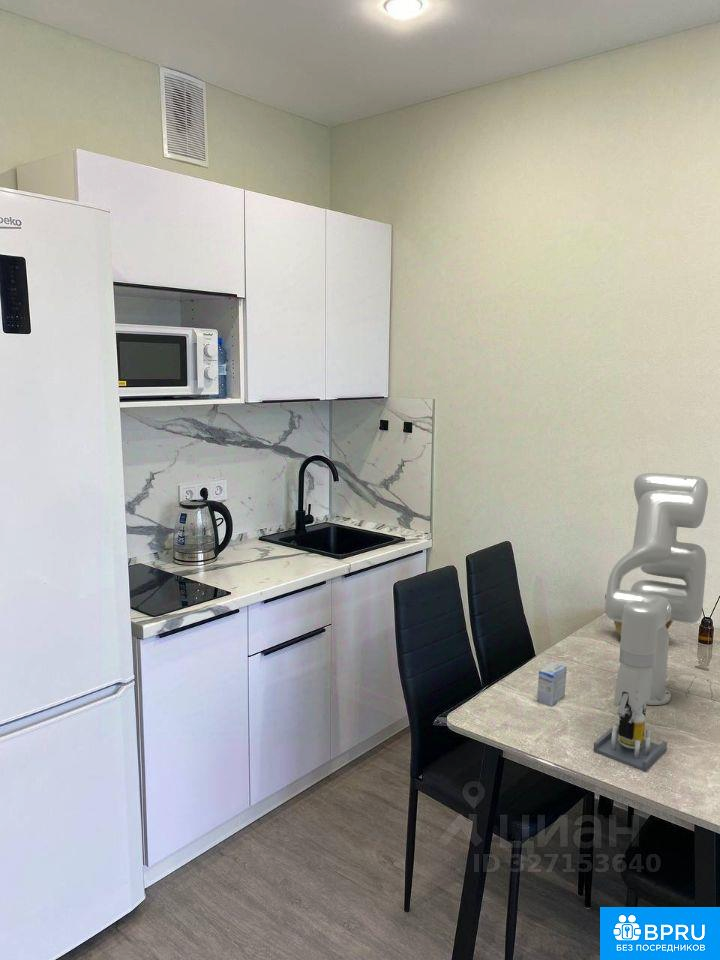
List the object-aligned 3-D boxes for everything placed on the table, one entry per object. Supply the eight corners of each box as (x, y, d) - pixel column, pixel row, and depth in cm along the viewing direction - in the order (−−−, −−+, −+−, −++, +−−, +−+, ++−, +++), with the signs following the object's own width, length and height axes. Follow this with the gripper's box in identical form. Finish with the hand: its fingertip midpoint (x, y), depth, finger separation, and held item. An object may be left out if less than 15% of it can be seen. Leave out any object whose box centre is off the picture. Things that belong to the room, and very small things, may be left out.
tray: (615, 732, 173) (617, 713, 173) (666, 751, 165) (668, 731, 165) (593, 751, 165) (594, 732, 164) (645, 772, 157) (647, 751, 156)
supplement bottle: (615, 736, 168) (618, 698, 166) (638, 738, 167) (641, 699, 166) (622, 749, 162) (625, 709, 161) (646, 750, 162) (649, 710, 161)
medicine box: (549, 691, 195) (551, 661, 194) (565, 696, 192) (567, 665, 191) (536, 701, 189) (538, 670, 188) (552, 707, 186) (554, 675, 185)
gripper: (636, 642, 170) (630, 713, 173) (604, 663, 158) (599, 740, 161) (668, 651, 165) (662, 724, 168) (638, 674, 153) (632, 752, 156)
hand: (631, 731), depth 164 cm, fingers closed on supplement bottle, 5 cm apart
